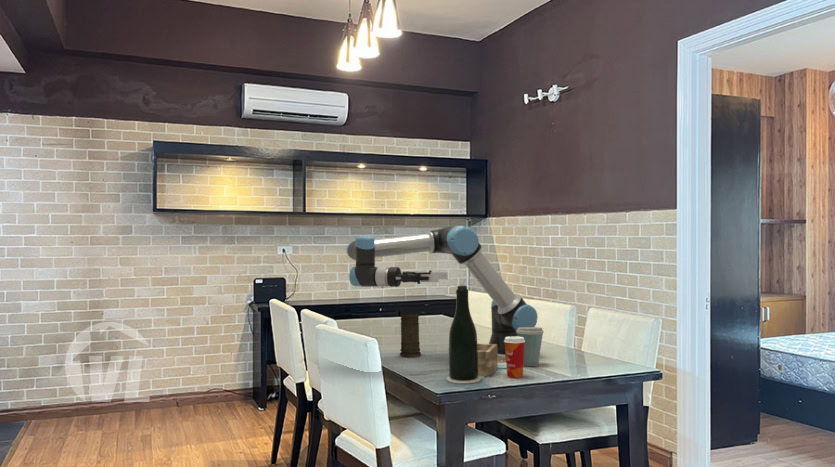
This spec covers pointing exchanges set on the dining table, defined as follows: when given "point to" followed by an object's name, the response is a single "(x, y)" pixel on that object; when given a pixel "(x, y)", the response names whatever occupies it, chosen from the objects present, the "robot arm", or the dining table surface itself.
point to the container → (410, 335)
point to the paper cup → (514, 356)
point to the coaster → (464, 380)
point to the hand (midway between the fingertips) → (443, 277)
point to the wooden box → (487, 359)
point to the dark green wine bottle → (463, 340)
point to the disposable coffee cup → (531, 344)
